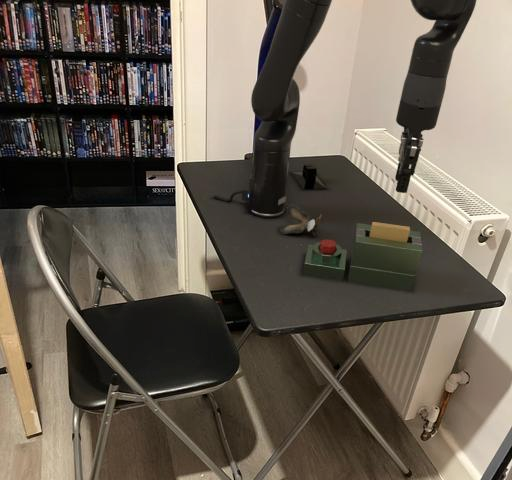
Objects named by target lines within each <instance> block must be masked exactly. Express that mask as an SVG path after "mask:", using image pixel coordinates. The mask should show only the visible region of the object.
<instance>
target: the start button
mask: <svg viewBox="0 0 512 480" xmlns="http://www.w3.org/2000/svg"><path fill="white" fill-rule="evenodd" d="M319 242H320V247H319V250H320V251H322V252H324V253H334V252H335V250H336V244H337V242H336V241H335V240H333V239H328V238H327V239H321V240H320V241H319Z"/></svg>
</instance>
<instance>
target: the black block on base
mask: <svg viewBox="0 0 512 480" xmlns="http://www.w3.org/2000/svg"><path fill="white" fill-rule="evenodd" d="M317 169H318V168H317V167H316V165H315V164H314V163H303V167H302V171H292V172H291V176H292V177H293V178H294V179H295V181H296V182H297V184H298V185H299V186H300V188H301V189H302V190H303V191H314V190H315V191H317V190H327V187H326V186H325V184H324V183H323V182H322V181H321V179H320V178H319V177H318V175H317V173H318V170H317Z"/></svg>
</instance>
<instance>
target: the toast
mask: <svg viewBox="0 0 512 480" xmlns="http://www.w3.org/2000/svg"><path fill="white" fill-rule="evenodd" d="M370 225H371V230H370V235H369V237H372V238H378V239H385V240H392V241H399V242H406V243H407V240H408V236H409V233H410V231H411V227H410V226H407V225H398V224H393V223H385V222H377V221H372V222H371V224H370Z"/></svg>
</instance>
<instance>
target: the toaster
mask: <svg viewBox="0 0 512 480" xmlns="http://www.w3.org/2000/svg"><path fill="white" fill-rule="evenodd" d="M371 225H372V224H367V223H360V222H356V226H355V230H354V236H353V241H352V245H351V251H350V256H349V261H348V272H347V282H348V283H354V284H362V285H367V286H374V287H381V288H387V289H393V290H401V291H406V292H407V291H408V292H412V289H413V286H414V283H415V280H416V276H417V273H418V268H419V265H420V261H421V258H422V254H423V244H422V236H421V231H415V230H410V233H409V236H408V240H407V243H406V242H399V241H392V240H385V239H378V238H372V237H369V235H370V230H371Z"/></svg>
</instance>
